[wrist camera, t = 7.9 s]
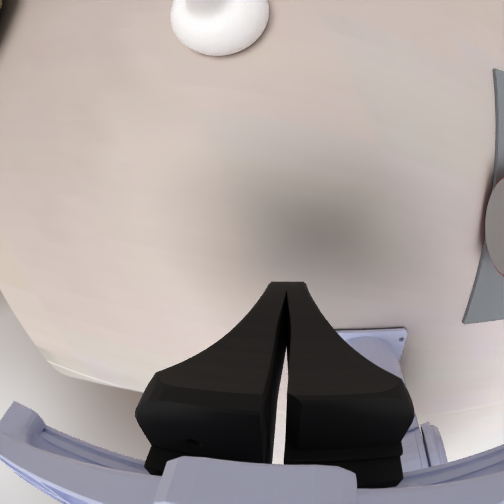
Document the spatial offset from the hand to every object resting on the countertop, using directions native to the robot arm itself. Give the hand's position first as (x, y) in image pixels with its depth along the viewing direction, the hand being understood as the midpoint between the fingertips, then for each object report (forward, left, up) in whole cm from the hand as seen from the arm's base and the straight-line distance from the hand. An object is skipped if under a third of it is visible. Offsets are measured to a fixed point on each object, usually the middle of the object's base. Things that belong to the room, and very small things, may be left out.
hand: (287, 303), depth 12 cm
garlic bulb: (+15, +4, -11) cm, 19 cm away
